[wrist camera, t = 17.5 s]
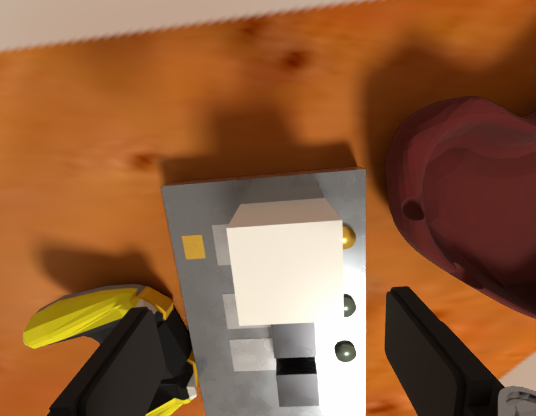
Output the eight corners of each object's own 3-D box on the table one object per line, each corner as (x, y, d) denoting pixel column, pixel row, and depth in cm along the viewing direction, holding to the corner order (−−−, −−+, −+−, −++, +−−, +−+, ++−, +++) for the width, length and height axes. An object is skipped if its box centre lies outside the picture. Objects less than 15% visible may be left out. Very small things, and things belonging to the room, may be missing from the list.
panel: (171, 182, 21) (135, 196, 16) (357, 166, 20) (385, 175, 15) (214, 415, 27) (199, 481, 22) (358, 411, 26) (378, 480, 21)
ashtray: (388, 303, 23) (417, 345, 19) (365, 118, 20) (394, 111, 15) (604, 268, 22) (697, 304, 17) (626, 58, 18) (755, 27, 13)
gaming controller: (139, 405, 28) (222, 380, 26) (105, 468, 22) (208, 441, 21) (61, 289, 24) (152, 254, 23) (0, 331, 19) (114, 288, 18)
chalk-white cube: (249, 278, 21) (239, 325, 15) (240, 204, 19) (226, 228, 14) (326, 274, 20) (343, 320, 15) (324, 197, 19) (342, 220, 14)
